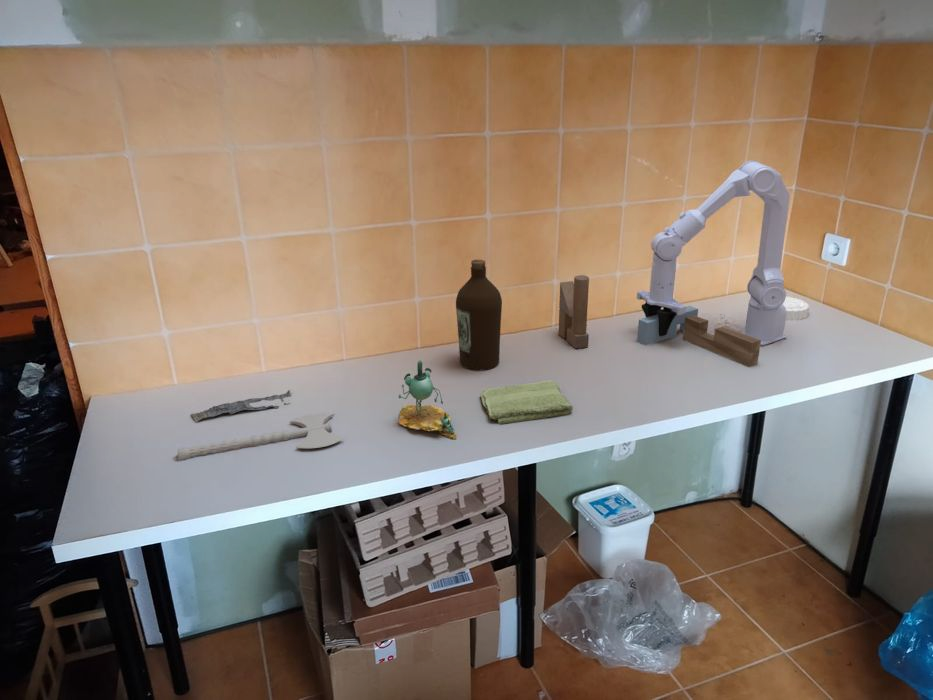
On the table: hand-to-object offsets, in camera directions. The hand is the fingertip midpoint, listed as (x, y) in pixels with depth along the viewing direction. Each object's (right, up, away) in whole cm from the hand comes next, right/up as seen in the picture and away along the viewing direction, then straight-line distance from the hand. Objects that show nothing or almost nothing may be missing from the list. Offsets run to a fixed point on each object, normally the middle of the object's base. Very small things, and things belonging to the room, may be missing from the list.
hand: (657, 332), depth 179 cm
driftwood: (-96, -17, -30) cm, 102 cm away
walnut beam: (+13, -5, -7) cm, 16 cm away
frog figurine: (-57, -19, -37) cm, 71 cm away
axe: (-88, -23, -43) cm, 101 cm away
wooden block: (-21, -2, +1) cm, 22 cm away
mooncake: (+39, +6, +16) cm, 43 cm away
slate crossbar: (+3, -1, +2) cm, 4 cm away
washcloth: (-36, -17, -31) cm, 51 cm away
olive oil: (-46, -8, -11) cm, 47 cm away
